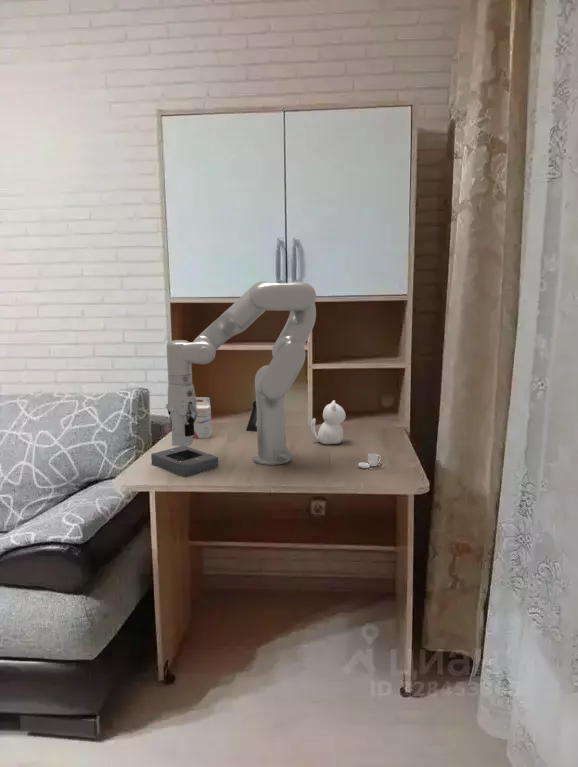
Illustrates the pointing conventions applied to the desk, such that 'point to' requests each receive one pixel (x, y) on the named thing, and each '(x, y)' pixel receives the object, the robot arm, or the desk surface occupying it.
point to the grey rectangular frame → (184, 461)
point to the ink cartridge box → (203, 419)
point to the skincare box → (179, 430)
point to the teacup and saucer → (370, 461)
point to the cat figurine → (330, 425)
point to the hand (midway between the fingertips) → (182, 433)
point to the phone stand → (253, 419)
